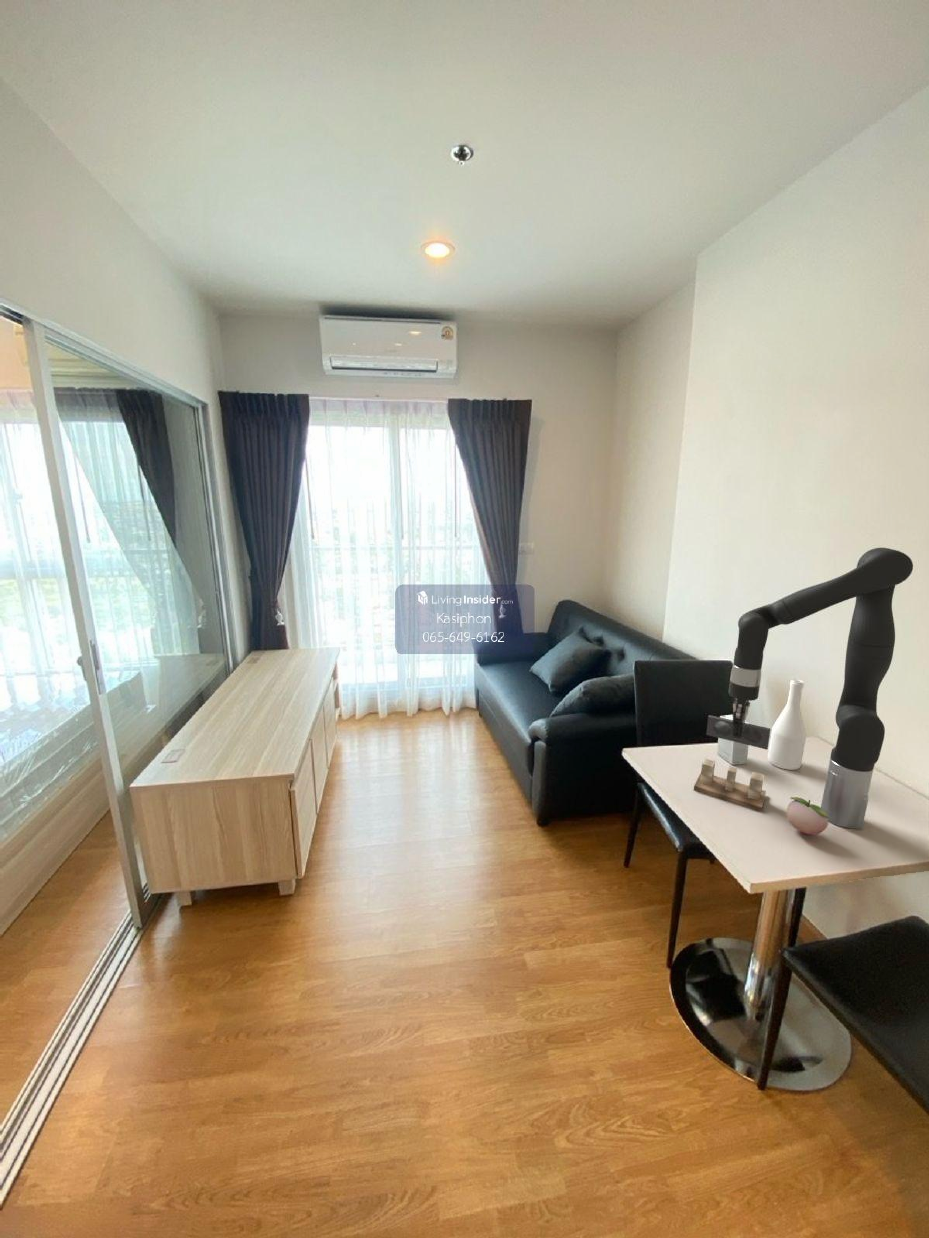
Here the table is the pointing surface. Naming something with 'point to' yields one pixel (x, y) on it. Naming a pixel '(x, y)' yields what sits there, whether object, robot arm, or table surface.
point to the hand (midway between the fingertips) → (737, 735)
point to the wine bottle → (789, 732)
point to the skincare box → (732, 748)
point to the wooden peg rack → (731, 787)
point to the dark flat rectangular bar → (750, 732)
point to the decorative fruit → (806, 816)
